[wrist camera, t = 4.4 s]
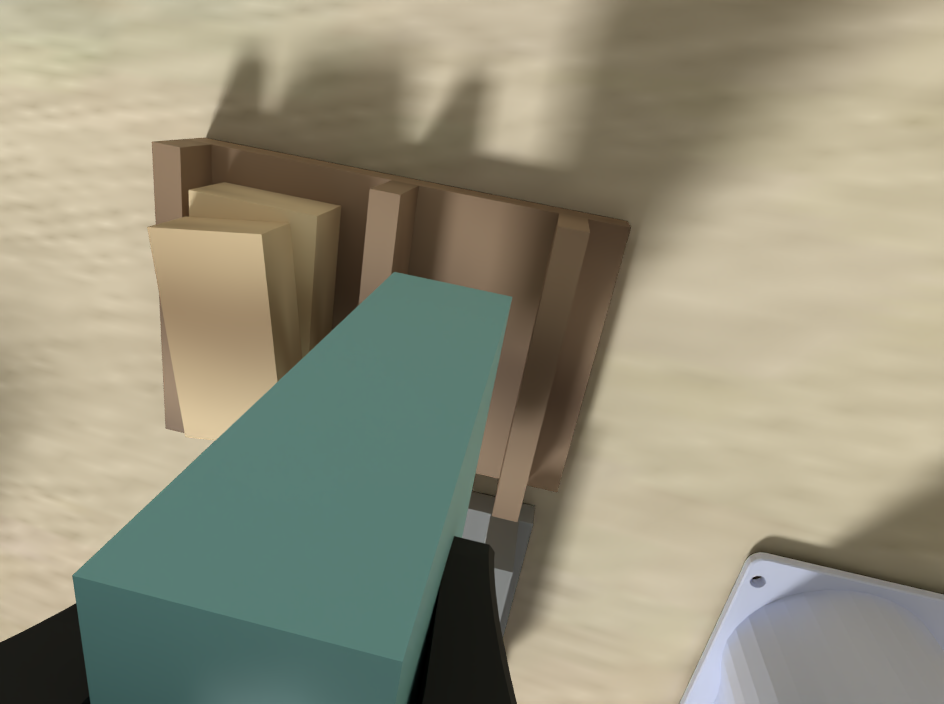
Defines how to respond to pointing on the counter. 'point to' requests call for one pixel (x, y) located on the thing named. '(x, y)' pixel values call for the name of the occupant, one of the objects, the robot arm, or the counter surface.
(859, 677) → the robot arm
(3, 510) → the counter surface
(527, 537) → the holder
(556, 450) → the rack
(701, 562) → the counter surface
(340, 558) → the teal block
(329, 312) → the offcut low
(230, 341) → the offcut top
